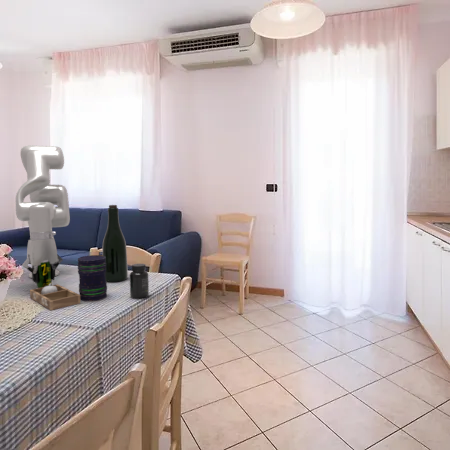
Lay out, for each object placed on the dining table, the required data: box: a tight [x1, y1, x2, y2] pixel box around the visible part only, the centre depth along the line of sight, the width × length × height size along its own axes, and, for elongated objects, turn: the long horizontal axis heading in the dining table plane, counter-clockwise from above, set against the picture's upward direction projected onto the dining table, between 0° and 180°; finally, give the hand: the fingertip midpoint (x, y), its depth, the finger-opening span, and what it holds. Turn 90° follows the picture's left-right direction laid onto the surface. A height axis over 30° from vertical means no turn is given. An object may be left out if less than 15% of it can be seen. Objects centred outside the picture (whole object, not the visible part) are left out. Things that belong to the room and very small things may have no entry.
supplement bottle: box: [129, 263, 150, 300], centre depth 135 cm, size 7×7×12 cm
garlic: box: [41, 283, 57, 295], centre depth 133 cm, size 6×5×5 cm
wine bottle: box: [101, 204, 129, 283], centre depth 157 cm, size 10×10×33 cm
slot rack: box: [29, 283, 81, 311], centre depth 130 cm, size 19×10×3 cm, turn 47°
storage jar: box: [77, 254, 108, 302], centre depth 133 cm, size 10×10×15 cm
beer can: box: [36, 259, 53, 289], centre depth 142 cm, size 5×5×12 cm
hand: (44, 280), depth 142 cm, fingers closed on beer can, 5 cm apart
